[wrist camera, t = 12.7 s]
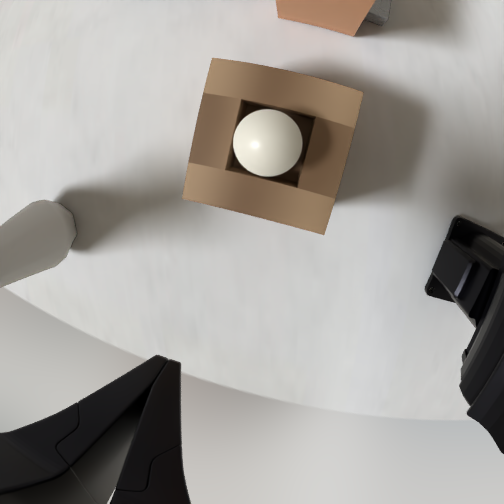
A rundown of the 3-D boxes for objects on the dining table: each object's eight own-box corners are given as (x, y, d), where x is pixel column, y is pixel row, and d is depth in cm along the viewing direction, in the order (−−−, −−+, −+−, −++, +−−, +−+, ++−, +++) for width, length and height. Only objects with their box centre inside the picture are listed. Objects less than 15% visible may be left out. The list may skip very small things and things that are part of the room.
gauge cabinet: (343, 102, 17) (364, 86, 11) (314, 207, 19) (324, 234, 14) (236, 76, 17) (213, 52, 11) (213, 181, 20) (181, 198, 14)
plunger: (306, 123, 14) (309, 118, 11) (292, 175, 15) (293, 184, 12) (250, 110, 14) (241, 103, 11) (238, 162, 15) (226, 167, 12)
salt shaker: (39, 241, 24) (-59, 302, 12) (43, 186, 21) (-73, 232, 9) (80, 265, 24) (-21, 345, 12) (88, 206, 22) (-39, 270, 10)
